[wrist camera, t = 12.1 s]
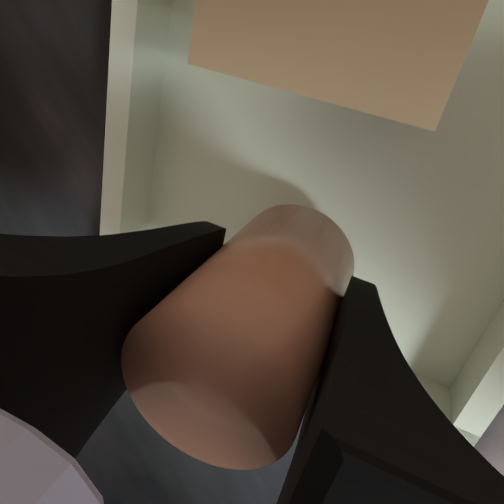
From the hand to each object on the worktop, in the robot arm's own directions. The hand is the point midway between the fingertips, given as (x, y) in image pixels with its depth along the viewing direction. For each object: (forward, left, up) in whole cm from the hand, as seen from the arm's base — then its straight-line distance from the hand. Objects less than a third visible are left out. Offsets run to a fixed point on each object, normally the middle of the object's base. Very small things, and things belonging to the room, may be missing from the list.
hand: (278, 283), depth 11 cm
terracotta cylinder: (0, 0, -2) cm, 2 cm away
